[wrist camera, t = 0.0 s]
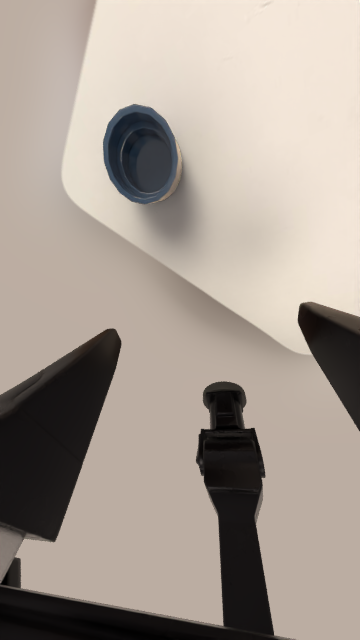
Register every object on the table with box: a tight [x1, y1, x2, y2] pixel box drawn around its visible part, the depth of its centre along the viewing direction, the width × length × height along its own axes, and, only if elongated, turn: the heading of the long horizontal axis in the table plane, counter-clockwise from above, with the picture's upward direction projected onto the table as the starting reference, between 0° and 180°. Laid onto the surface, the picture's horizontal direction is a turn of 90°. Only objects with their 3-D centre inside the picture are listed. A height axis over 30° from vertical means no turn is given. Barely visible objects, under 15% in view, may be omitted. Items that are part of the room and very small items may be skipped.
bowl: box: [103, 104, 182, 204], centre depth 17 cm, size 6×6×4 cm
